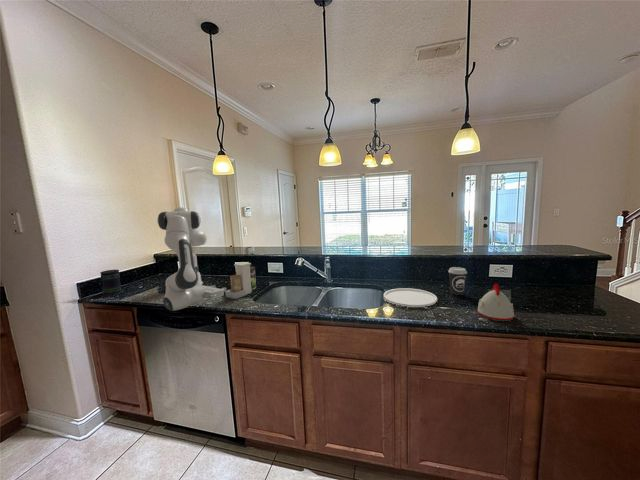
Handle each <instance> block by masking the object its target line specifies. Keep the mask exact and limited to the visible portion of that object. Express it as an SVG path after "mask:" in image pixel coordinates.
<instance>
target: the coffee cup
mask: <svg viewBox="0 0 640 480" xmlns="http://www.w3.org/2000/svg"><path fill="white" fill-rule="evenodd" d="M448 273H449V274H448V276H449V277H448V278H449V286H450V287H449V288H450V294H451V293H452V294H456V295H462V294H463V295H464V293H465V285H466V278H467V274H468V271H467V270H466V268H464V267H459V266H457V267H456V266H453V267H449V269H448Z"/></svg>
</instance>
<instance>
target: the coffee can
mask: <svg viewBox="0 0 640 480" xmlns="http://www.w3.org/2000/svg"><path fill="white" fill-rule="evenodd" d="M250 276H251V291H253V290H255V289H257V283H256V280H257V279H256V267H255V266H253V265H252V266H251V265H250Z"/></svg>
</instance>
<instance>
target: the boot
mask: <svg viewBox="0 0 640 480" xmlns="http://www.w3.org/2000/svg"><path fill="white" fill-rule="evenodd" d="M251 265H252V263H251V262H245V261H241V262H237V263H234V264H233V266H234V267H235V275H240V276H241V277H240V283H241V291H239V292H236V293H235V292H231V289H228V290H226V291H224V292H225V293H224V294H225V297H226V298H228V299H232V300H238V299H240V298H243V297H246V296H247V295H249V294H251V293H252V290H251V276H250V266H251Z"/></svg>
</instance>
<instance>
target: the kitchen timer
mask: <svg viewBox="0 0 640 480" xmlns="http://www.w3.org/2000/svg"><path fill="white" fill-rule="evenodd" d="M514 310H515V309H514V304H513V303H511V301H510V299H509V298H508V297H507V295H505V294H504V293H503V292H502V291H501V289H500V285H499V284H498V283H494V284H493V286H492V290H490V291H488V292H486V293H485V294H484V295H483V296H482V298H479V300H478V306H477V314H478V313H480V314H481V315H483V316H486V317H488V318H492V319H496V320H511V319H513V318H514V319H515V313H514Z"/></svg>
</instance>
